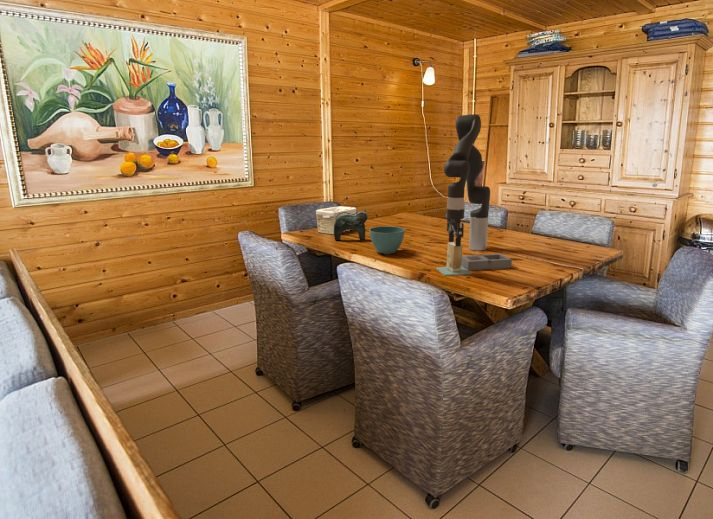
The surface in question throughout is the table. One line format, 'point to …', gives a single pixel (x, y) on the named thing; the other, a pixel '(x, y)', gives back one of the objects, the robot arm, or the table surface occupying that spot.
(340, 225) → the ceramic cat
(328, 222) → the storage basket
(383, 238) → the teal bowl
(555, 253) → the table surface
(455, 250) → the skincare box
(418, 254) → the table surface
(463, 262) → the slotted holder
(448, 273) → the tile
